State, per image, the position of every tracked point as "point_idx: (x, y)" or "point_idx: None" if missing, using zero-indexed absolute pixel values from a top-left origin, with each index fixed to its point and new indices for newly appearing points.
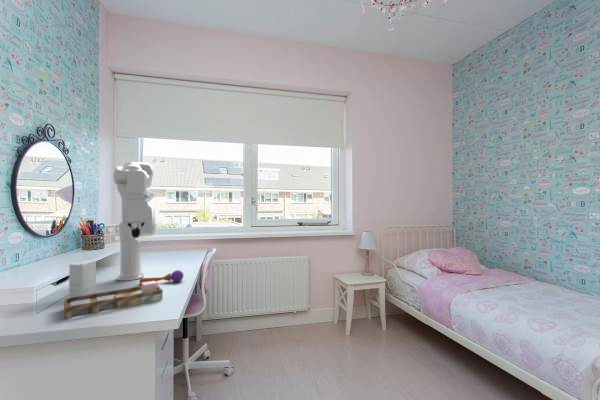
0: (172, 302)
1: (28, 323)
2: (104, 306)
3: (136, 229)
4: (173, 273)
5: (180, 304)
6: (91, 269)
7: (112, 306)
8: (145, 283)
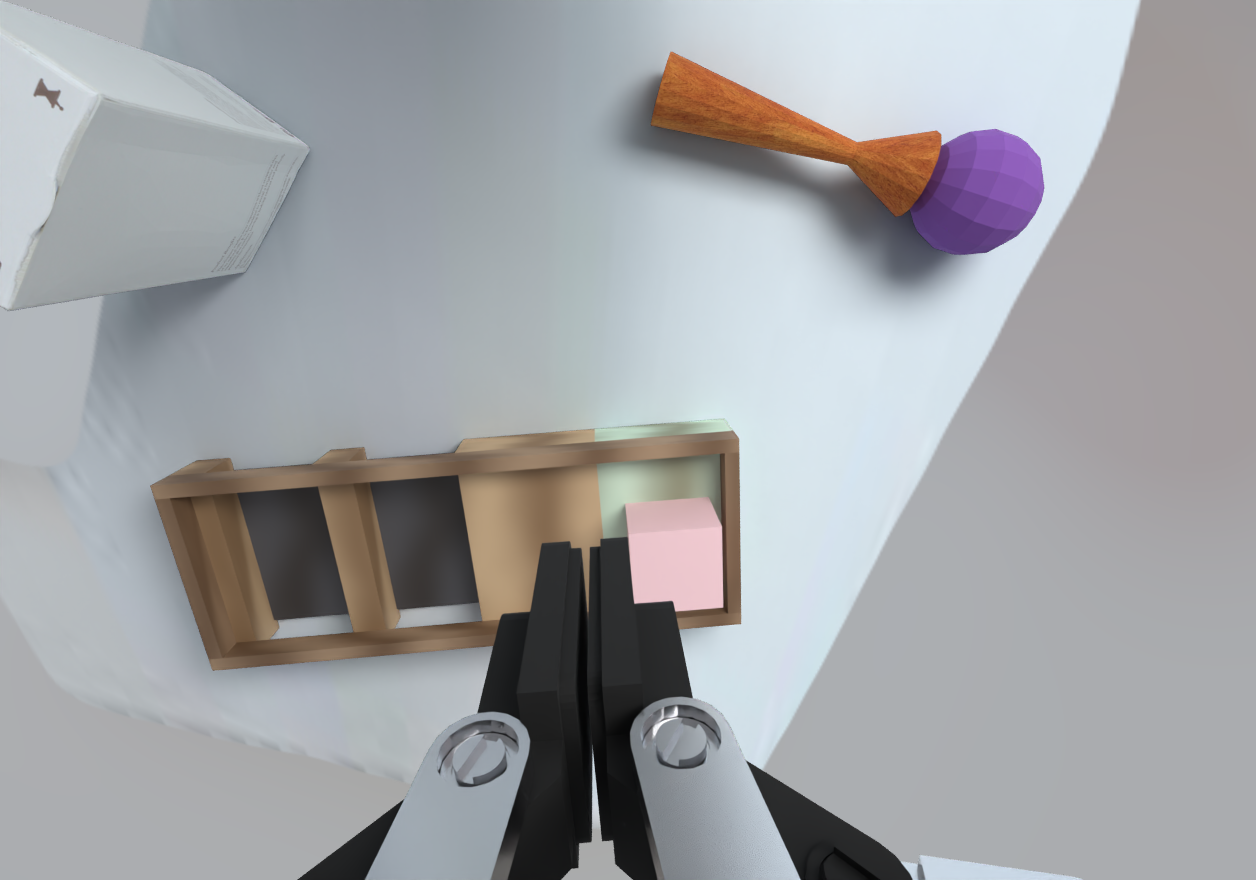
0: (761, 665)
1: (93, 600)
2: (419, 555)
3: (602, 839)
4: (953, 213)
5: (786, 713)
6: (140, 185)
7: (462, 580)
8: (650, 576)
